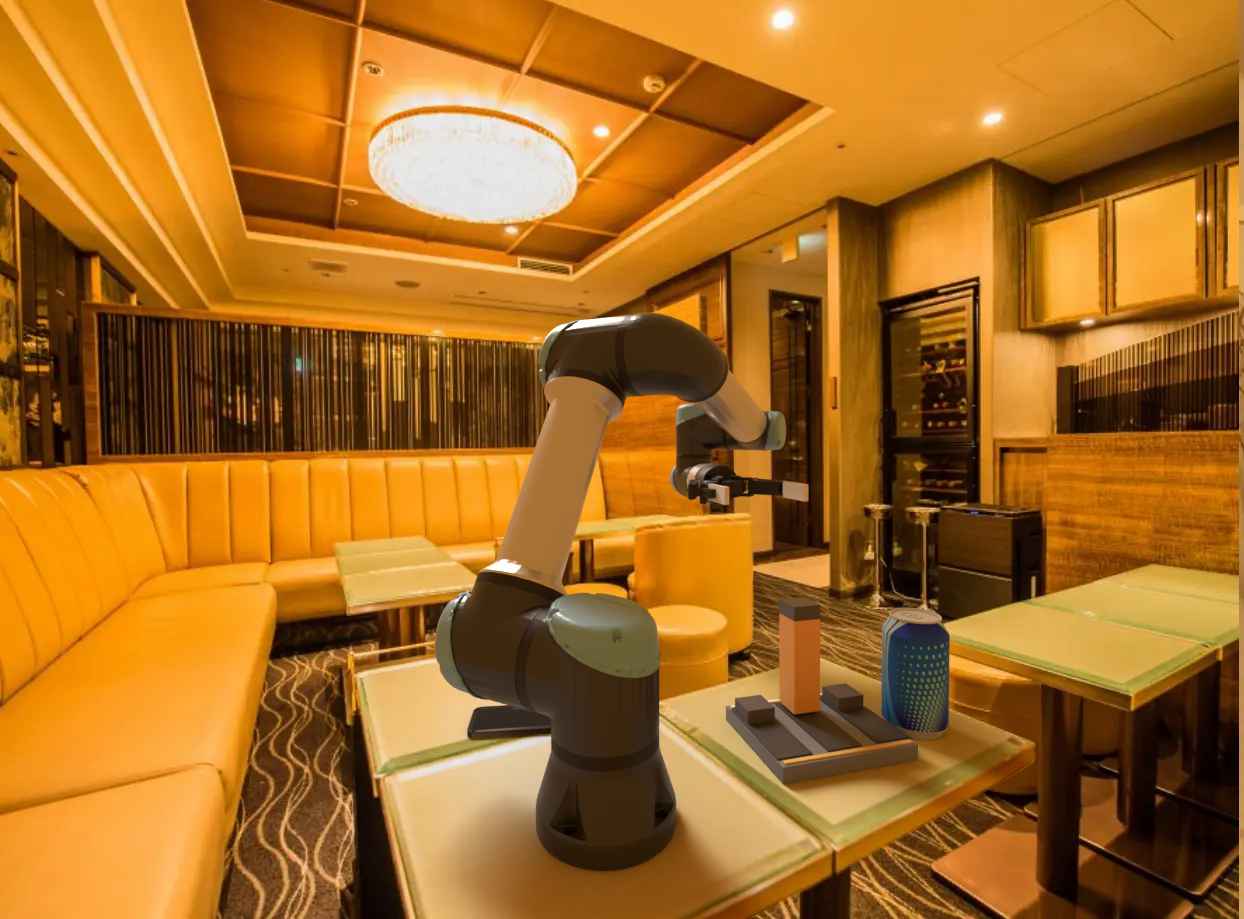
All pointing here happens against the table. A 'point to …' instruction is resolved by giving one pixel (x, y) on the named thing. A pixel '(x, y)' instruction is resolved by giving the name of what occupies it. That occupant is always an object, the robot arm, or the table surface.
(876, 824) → the table surface
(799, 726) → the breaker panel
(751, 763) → the table surface
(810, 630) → the orange lever
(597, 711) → the robot arm
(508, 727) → the phone
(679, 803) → the table surface
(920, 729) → the beer can
